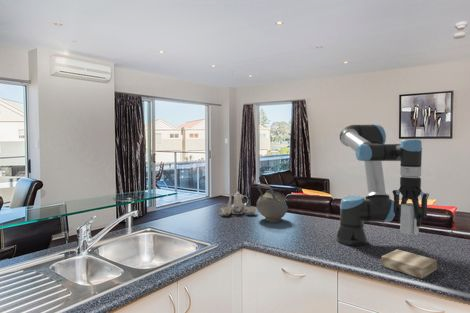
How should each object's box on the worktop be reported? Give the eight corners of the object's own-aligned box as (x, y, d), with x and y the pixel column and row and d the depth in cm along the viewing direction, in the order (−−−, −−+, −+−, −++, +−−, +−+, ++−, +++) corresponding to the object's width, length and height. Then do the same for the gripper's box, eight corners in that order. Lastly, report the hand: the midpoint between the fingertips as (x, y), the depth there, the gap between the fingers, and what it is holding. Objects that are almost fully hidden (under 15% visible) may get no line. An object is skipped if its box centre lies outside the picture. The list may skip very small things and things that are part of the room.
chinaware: (221, 219, 217) (221, 196, 214) (217, 212, 233) (217, 190, 230) (259, 217, 223) (260, 195, 220) (253, 210, 239) (254, 189, 236)
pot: (262, 225, 196) (262, 185, 194) (252, 217, 216) (252, 181, 214) (292, 223, 201) (292, 184, 199) (280, 215, 221) (280, 180, 219)
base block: (381, 265, 133) (381, 256, 132) (397, 257, 141) (397, 249, 141) (421, 278, 120) (422, 268, 120) (436, 269, 128) (436, 259, 128)
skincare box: (408, 230, 133) (408, 202, 133) (419, 233, 129) (419, 204, 129) (399, 232, 130) (399, 204, 130) (410, 235, 126) (410, 205, 126)
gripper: (384, 175, 133) (383, 229, 135) (430, 179, 119) (429, 239, 120) (393, 174, 138) (392, 226, 139) (438, 178, 124) (436, 235, 125)
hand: (409, 232), depth 130 cm, fingers closed on skincare box, 5 cm apart
